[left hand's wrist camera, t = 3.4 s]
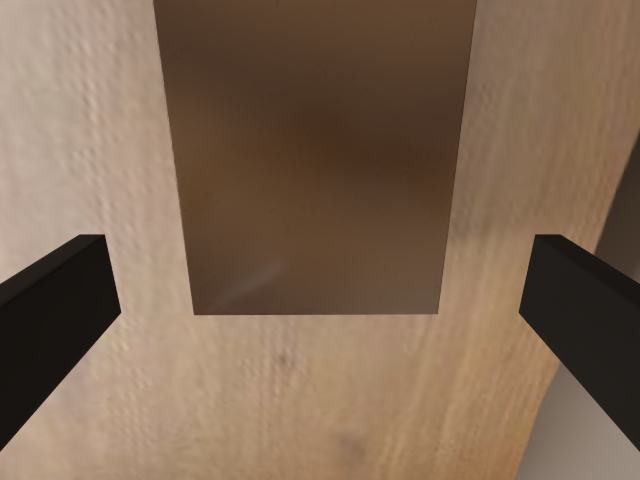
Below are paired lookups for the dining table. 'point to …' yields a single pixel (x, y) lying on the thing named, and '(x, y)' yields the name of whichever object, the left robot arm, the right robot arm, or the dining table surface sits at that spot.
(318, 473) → the dining table surface
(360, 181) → the cabinet
